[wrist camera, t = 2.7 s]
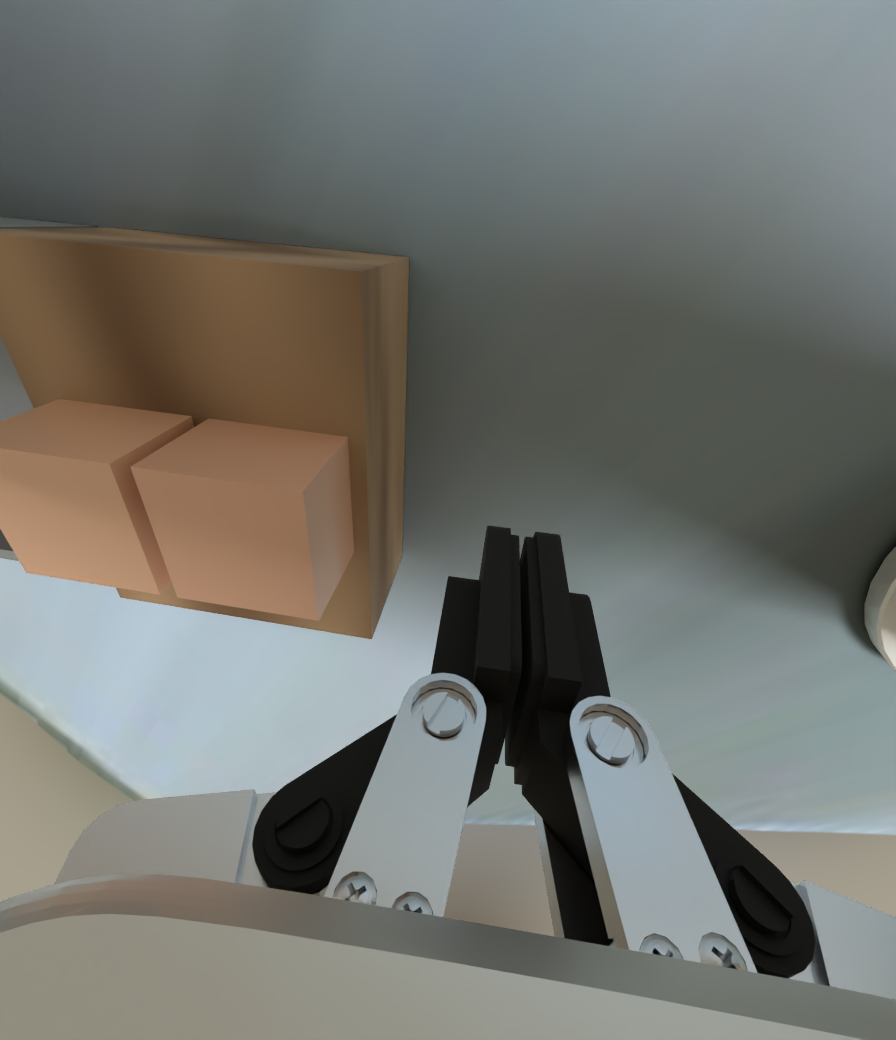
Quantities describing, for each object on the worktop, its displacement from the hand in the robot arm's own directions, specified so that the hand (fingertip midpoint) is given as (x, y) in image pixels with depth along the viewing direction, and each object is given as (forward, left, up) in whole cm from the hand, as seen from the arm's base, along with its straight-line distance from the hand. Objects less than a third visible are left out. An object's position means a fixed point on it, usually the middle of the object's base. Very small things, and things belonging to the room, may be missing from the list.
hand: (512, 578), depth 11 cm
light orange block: (+11, 0, -3) cm, 12 cm away
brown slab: (+9, 0, -8) cm, 12 cm away
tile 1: (+7, 0, -3) cm, 7 cm away
